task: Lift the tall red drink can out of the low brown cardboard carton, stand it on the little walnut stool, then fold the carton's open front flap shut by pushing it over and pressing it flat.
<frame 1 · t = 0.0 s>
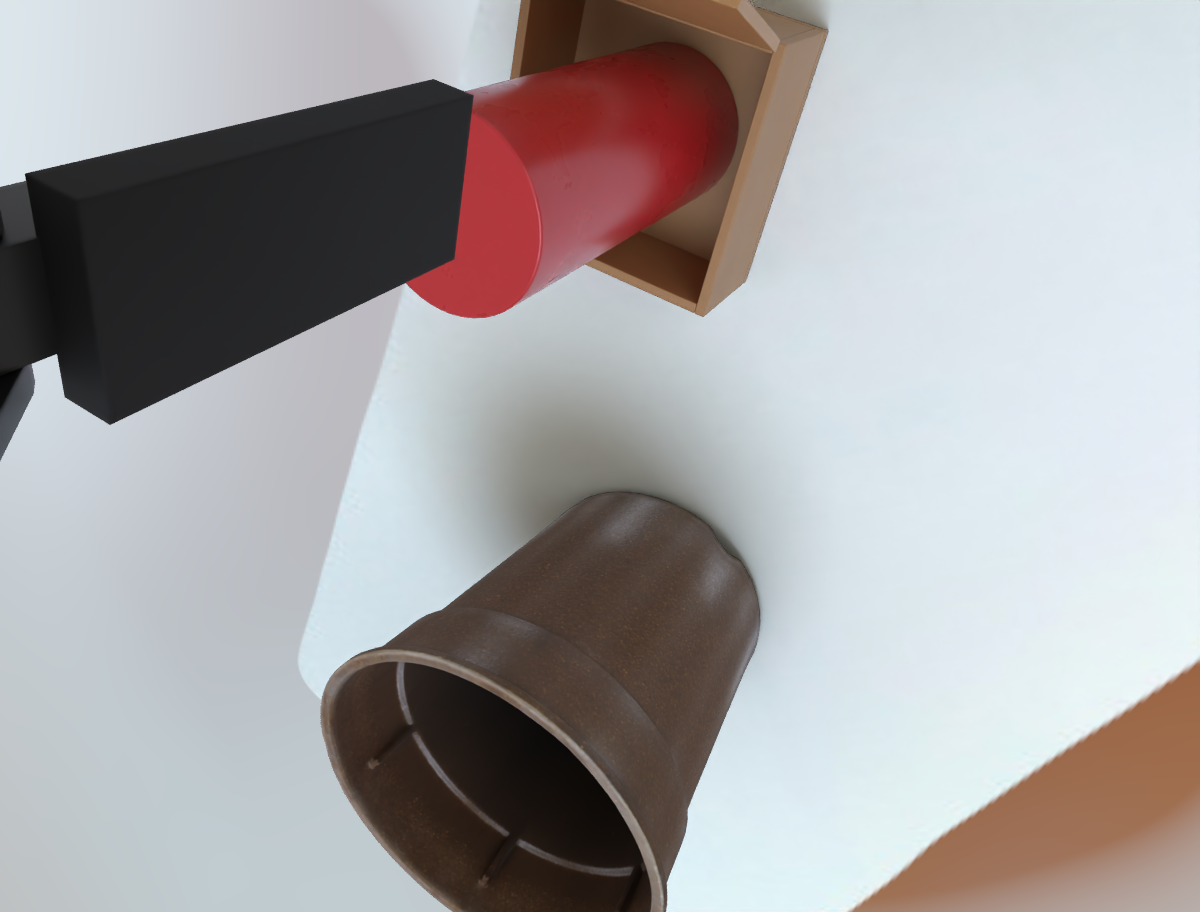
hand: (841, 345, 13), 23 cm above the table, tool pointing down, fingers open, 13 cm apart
plant pot: (656, 590, 49), on the table
can: (666, 125, 36), resting on carton
carton: (671, 123, 36), on the table
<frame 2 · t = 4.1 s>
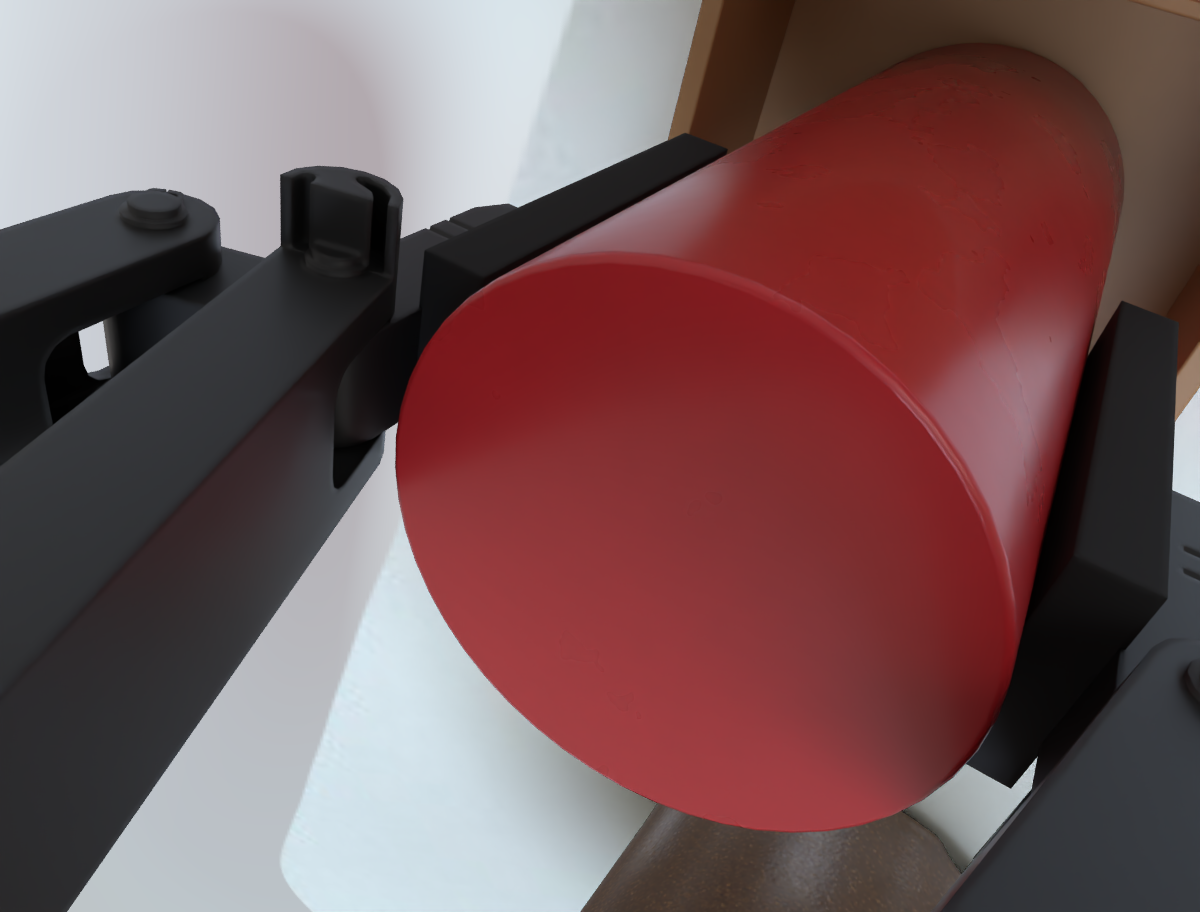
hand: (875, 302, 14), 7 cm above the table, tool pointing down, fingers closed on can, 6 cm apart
plant pot: (824, 892, 31), on the table
can: (955, 202, 19), resting on carton, touching gripper
carton: (959, 198, 19), on the table
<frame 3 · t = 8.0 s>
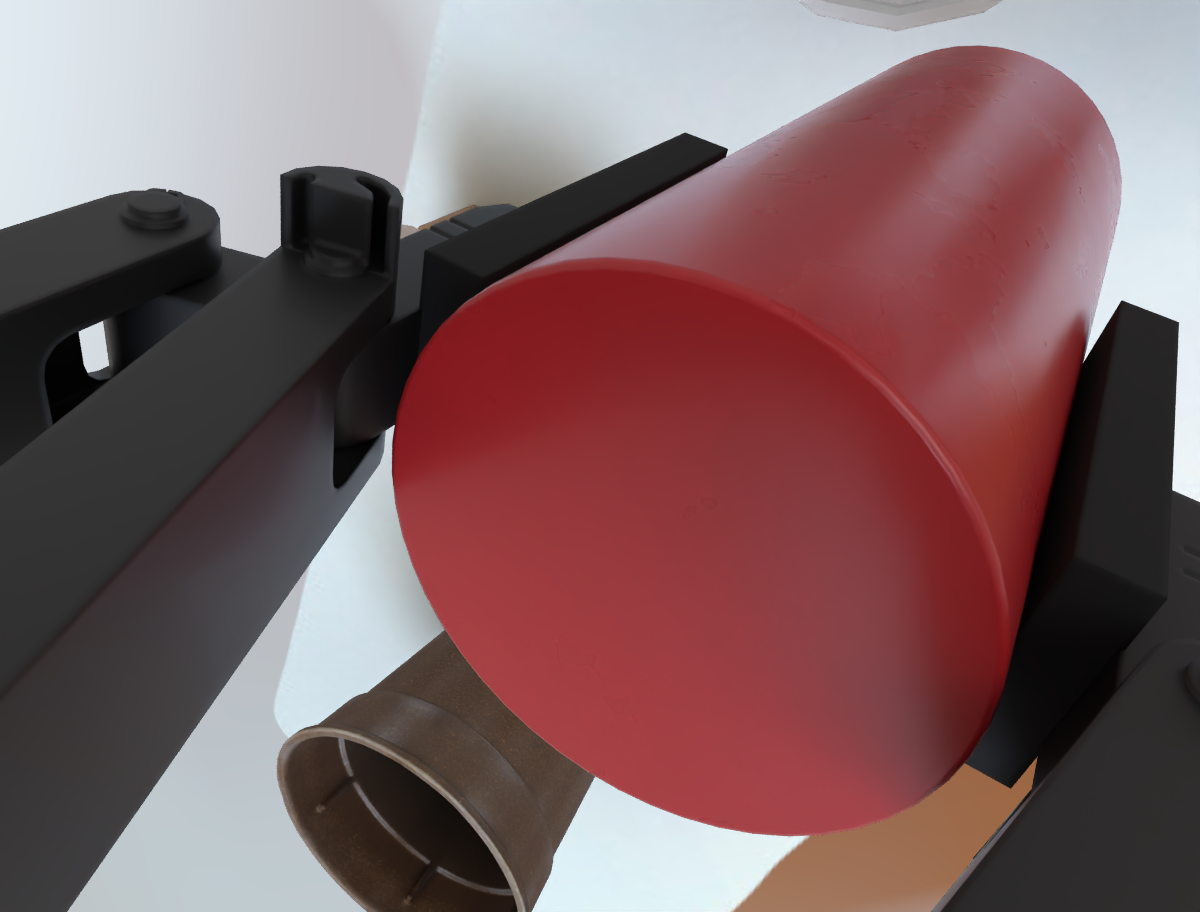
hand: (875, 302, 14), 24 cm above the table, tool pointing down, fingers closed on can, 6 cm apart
plant pot: (554, 662, 60), on the table
can: (953, 204, 19), point 18 cm above the table, touching gripper
flap: (468, 265, 40), point 7 cm above the table, hinge at 110.0°
when the fingers open (12 cm above the table, at t = 12.1 s): can stays where it is, resting on stool.
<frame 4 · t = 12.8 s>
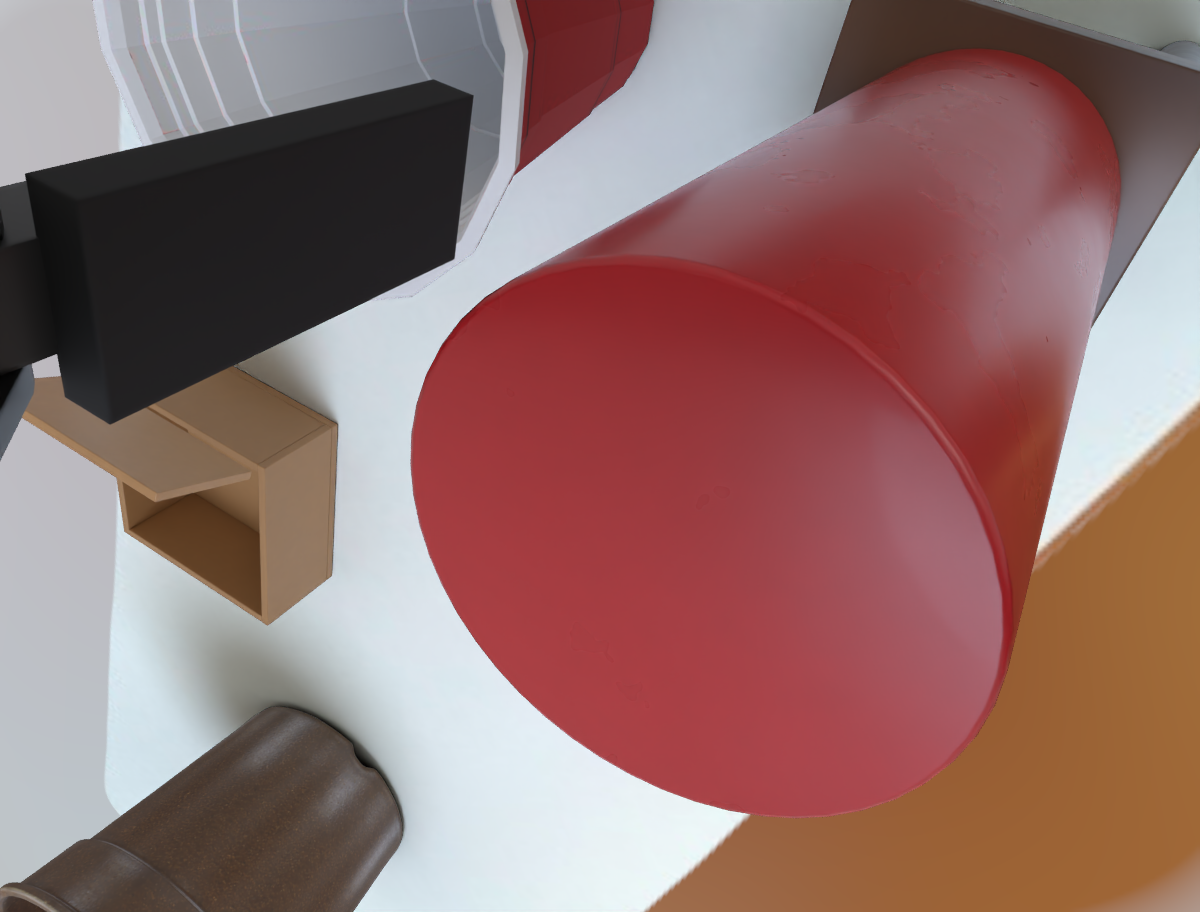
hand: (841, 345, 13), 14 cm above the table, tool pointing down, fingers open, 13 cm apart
plastic cup: (578, 5, 28), on the table
plant pot: (333, 779, 58), on the table
can: (955, 205, 19), point 6 cm above the table, touching stool
flap: (118, 432, 37), point 7 cm above the table, hinge at 110.0°
carton: (259, 460, 46), on the table
stool: (1002, 144, 24), on the table
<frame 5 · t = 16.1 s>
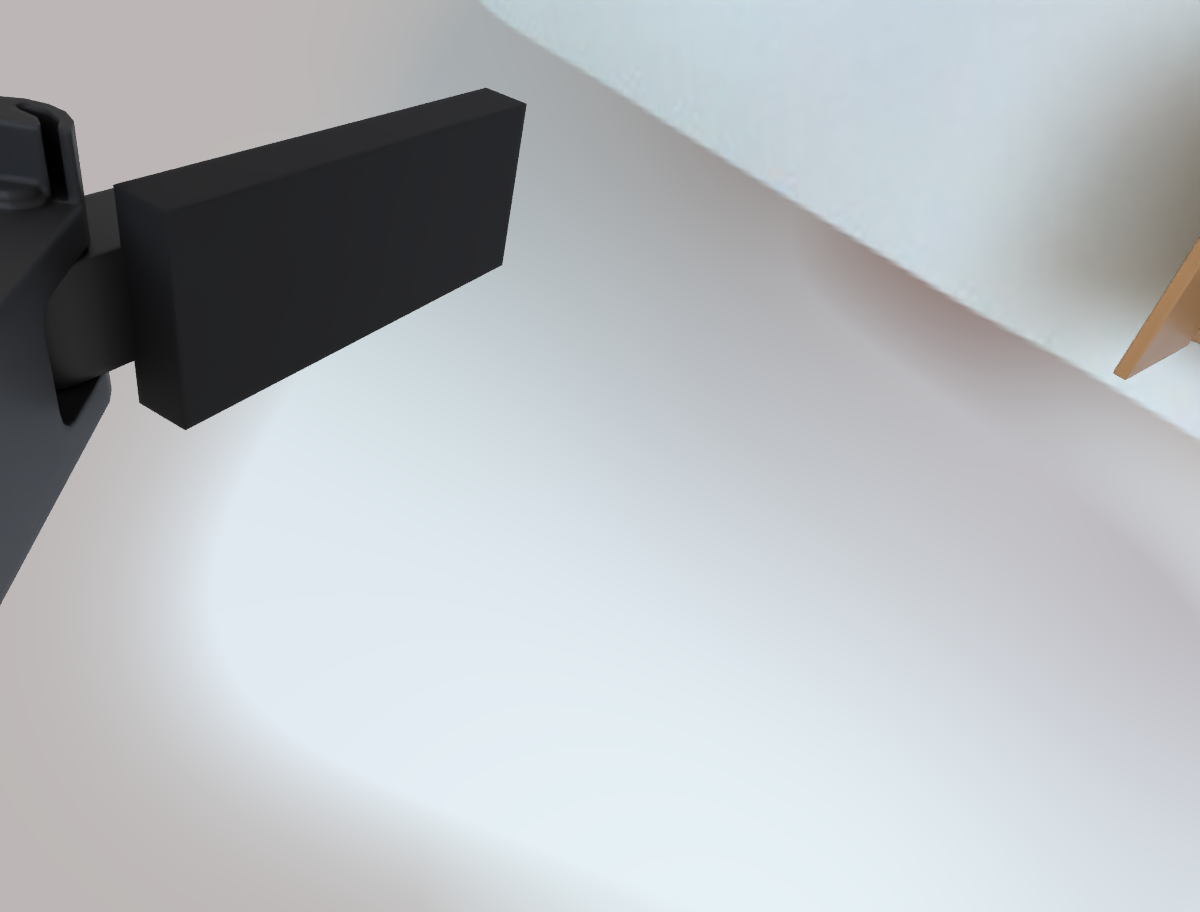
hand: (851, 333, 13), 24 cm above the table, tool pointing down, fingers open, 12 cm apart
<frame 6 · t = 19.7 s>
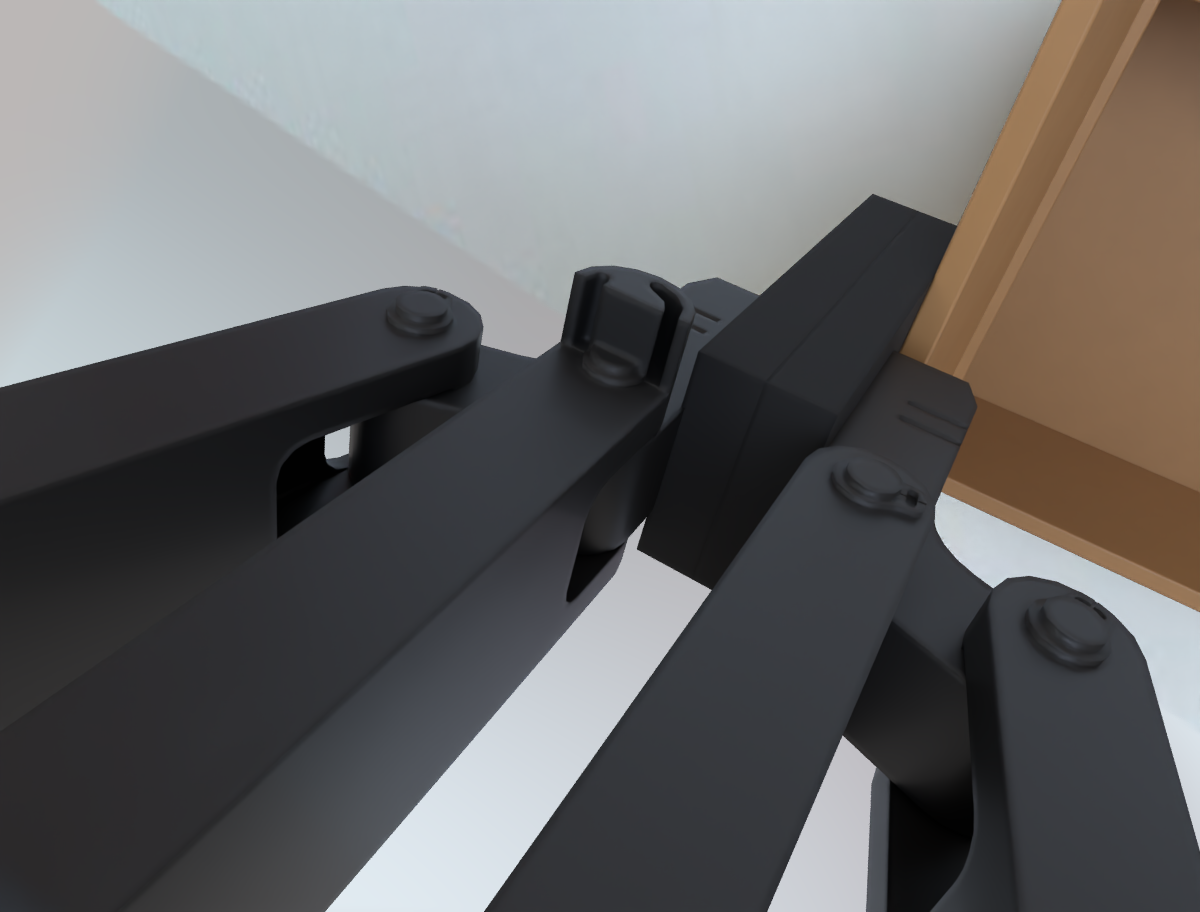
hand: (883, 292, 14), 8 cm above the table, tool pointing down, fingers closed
flap: (956, 311, 14), point 7 cm above the table, hinge at 94.4°, touching gripper
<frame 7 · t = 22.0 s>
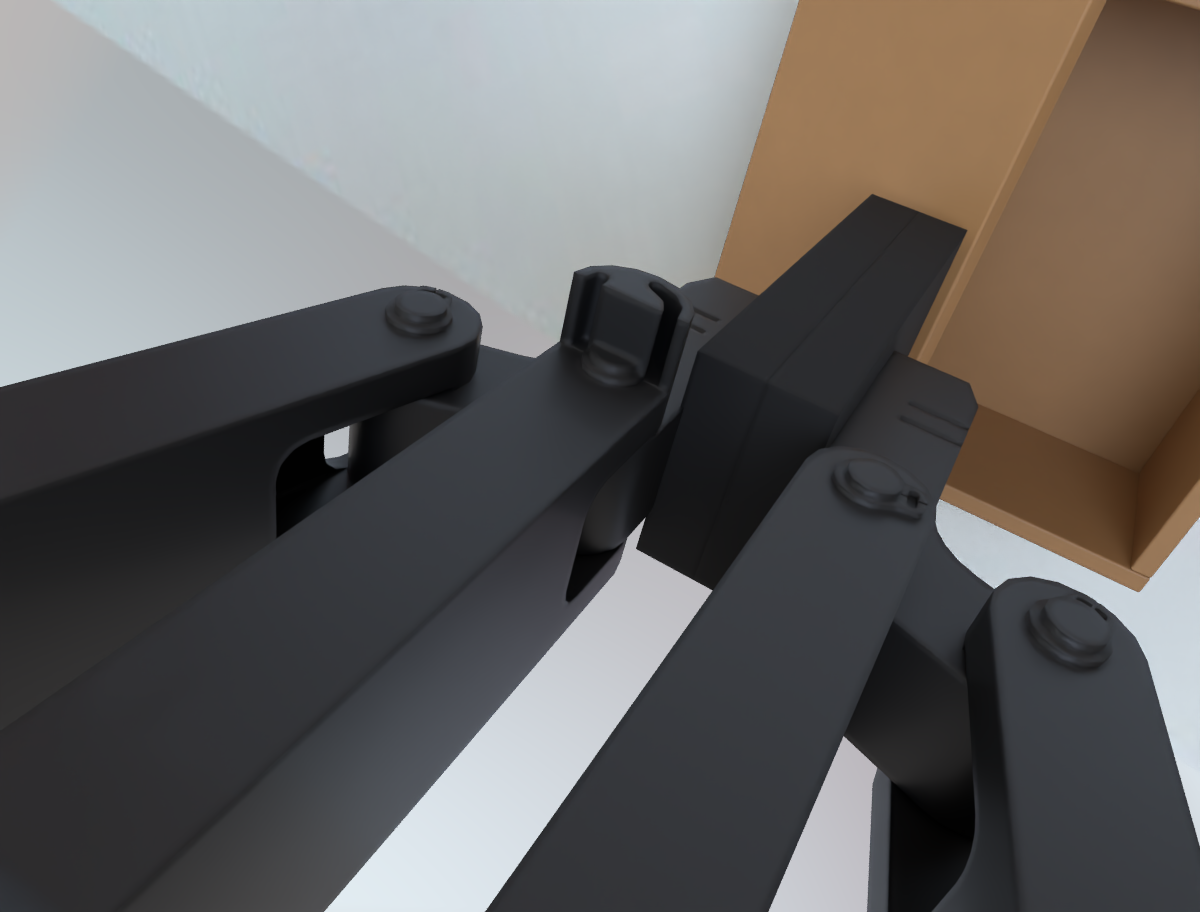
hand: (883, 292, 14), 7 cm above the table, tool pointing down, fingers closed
flap: (841, 239, 16), point 6 cm above the table, hinge at 25.1°, touching gripper
carton: (1039, 207, 20), on the table
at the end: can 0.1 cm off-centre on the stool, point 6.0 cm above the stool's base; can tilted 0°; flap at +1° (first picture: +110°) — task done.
